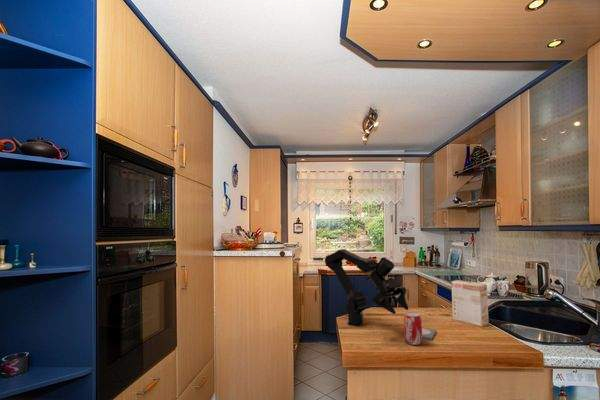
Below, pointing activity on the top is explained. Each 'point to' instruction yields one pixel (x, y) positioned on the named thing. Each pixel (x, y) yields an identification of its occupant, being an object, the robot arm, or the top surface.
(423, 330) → the dock pad
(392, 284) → the robot arm
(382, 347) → the top surface
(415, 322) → the soda can
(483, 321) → the coffeecake box
